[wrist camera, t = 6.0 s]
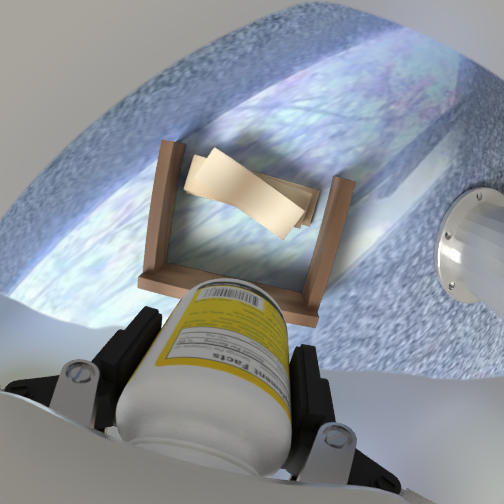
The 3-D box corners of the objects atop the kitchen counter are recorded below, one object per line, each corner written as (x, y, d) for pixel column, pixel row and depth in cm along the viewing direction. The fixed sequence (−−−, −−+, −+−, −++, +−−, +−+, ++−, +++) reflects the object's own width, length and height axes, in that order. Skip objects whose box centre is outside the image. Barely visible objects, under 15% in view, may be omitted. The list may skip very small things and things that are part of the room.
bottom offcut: (317, 189, 26) (320, 191, 25) (307, 223, 27) (309, 226, 26) (197, 157, 26) (194, 156, 25) (189, 191, 27) (185, 192, 26)
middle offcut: (310, 192, 25) (312, 194, 24) (298, 225, 26) (299, 228, 25) (197, 155, 25) (194, 154, 23) (187, 188, 25) (183, 189, 24)
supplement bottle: (218, 384, 15) (174, 548, 6) (155, 307, 14) (41, 461, 5) (308, 344, 14) (327, 537, 5) (248, 252, 13) (183, 443, 4)
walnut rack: (344, 179, 25) (359, 182, 21) (309, 304, 28) (315, 328, 24) (174, 142, 25) (157, 139, 20) (155, 269, 28) (137, 287, 24)
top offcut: (303, 208, 24) (305, 211, 23) (282, 236, 25) (283, 240, 24) (217, 148, 23) (214, 147, 22) (197, 177, 24) (193, 177, 23)
